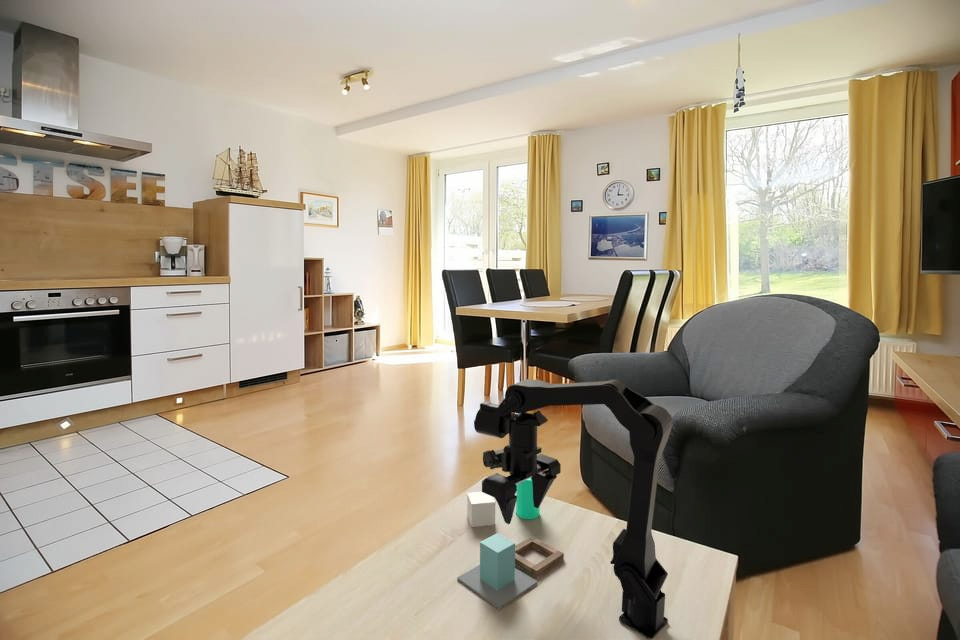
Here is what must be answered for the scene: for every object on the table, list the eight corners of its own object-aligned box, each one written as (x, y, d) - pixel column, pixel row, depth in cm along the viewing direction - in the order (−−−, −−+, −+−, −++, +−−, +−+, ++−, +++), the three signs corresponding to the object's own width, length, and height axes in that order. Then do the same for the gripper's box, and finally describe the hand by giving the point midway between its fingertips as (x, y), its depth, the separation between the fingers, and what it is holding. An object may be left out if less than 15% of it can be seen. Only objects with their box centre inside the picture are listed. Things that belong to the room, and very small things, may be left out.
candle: (539, 508, 132) (540, 464, 131) (539, 520, 126) (540, 474, 125) (516, 507, 133) (517, 463, 131) (515, 518, 127) (516, 473, 125)
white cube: (489, 513, 130) (490, 490, 129) (495, 525, 124) (495, 501, 123) (467, 515, 129) (467, 492, 128) (471, 527, 123) (471, 504, 122)
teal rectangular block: (514, 579, 102) (515, 543, 101) (497, 590, 98) (497, 552, 97) (497, 568, 105) (497, 533, 104) (479, 578, 102) (480, 542, 101)
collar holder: (563, 559, 110) (563, 553, 109) (536, 577, 103) (536, 571, 103) (531, 542, 116) (531, 536, 116) (504, 558, 110) (504, 551, 110)
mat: (537, 583, 101) (537, 581, 101) (499, 609, 94) (499, 607, 94) (495, 558, 110) (495, 555, 110) (457, 579, 102) (457, 577, 102)
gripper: (522, 422, 114) (521, 488, 116) (462, 443, 101) (462, 517, 103) (562, 434, 106) (561, 504, 108) (503, 459, 93) (502, 538, 95)
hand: (522, 515), depth 104 cm, fingers open, 9 cm apart
